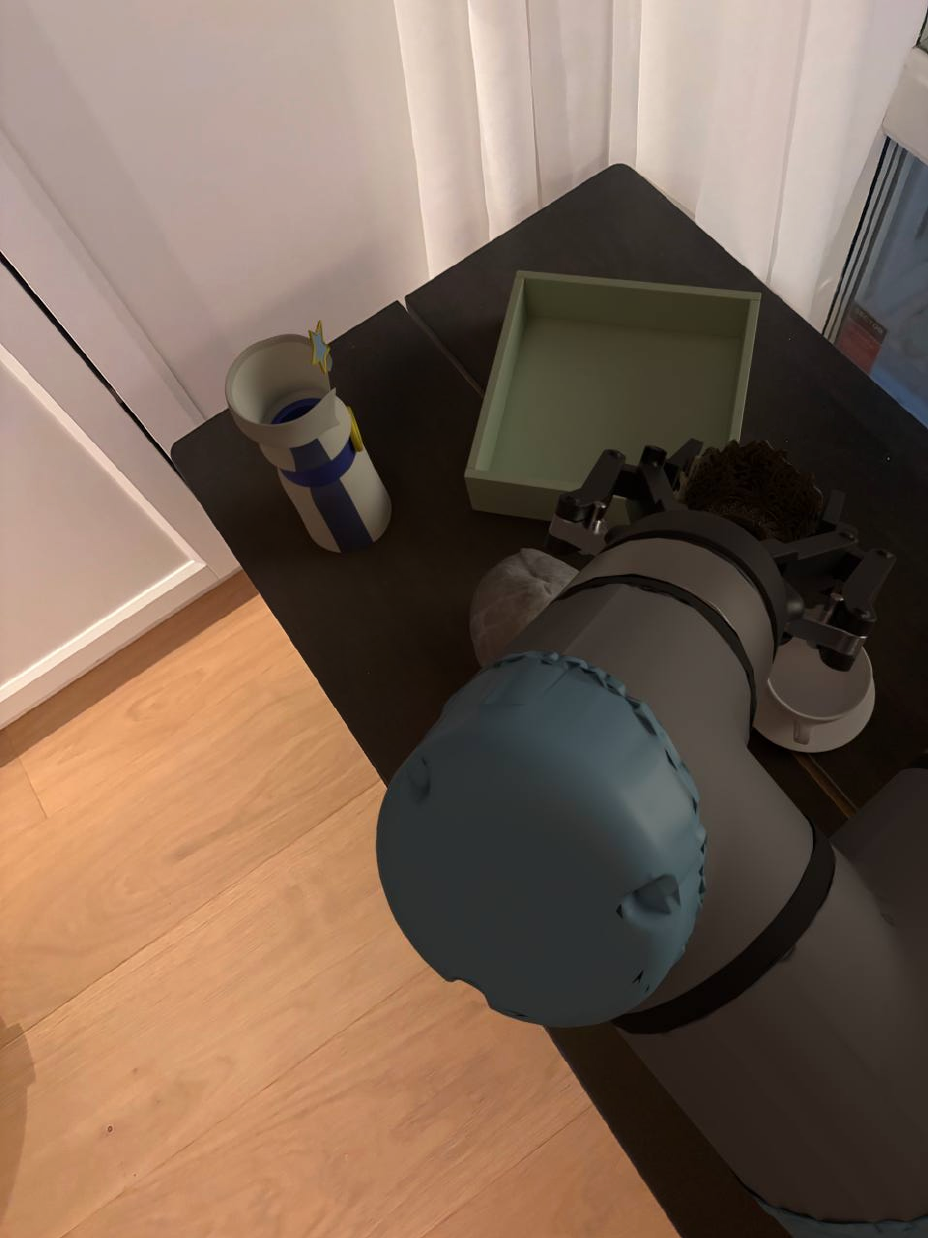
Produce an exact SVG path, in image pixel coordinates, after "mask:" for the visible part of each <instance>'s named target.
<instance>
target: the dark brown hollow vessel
mask: <svg viewBox="0 0 928 1238" xmlns="http://www.w3.org/2000/svg"><path fill="white" fill-rule="evenodd" d="M740 445H741V444H740V441H739V442H737V440H736V439H733V440H732V441H730V442H729V443H728V444H726V447H725V448H724V450H723V451H722V452H720V450H719V449H718V448H717V449H716V448H714V447H708V448H707V449H706V450H705V452H704V454H702V455H701V456H700V455H695V456H694V457H693V458H692V459H691V461H690V463H689V465H688V467H687V470H686V474H684V472H680V474H679V476H678V479H677V487H676V490H675V491H674V492H673V493H674V495H675V498H676V500H677V503H680V504H684V505H687V507H688V509H689V510H695V511H702V512H706V513H710V514H714V515H717V516H720V517H722V518H725V519H727V520H729V521H731V522H733V523H735V524H737V525H738V526H740V527H742V528H743V529H745V530H746V531H747V532H749V533H750V534H751V535H752V536H753V537H755V538H756V539H757V540H758V541H762V540H766V539H770V538H774V539H776V540H778V541H780V542H782V543H784V544H786V543H790V542H794V541H797V540H801V539H805V538H809V537H813V535H814V534H815V532H816V530H817V528H818V526H819V524H820V523H819V522H818V518H819V516H820V514H821V512H822V510H823V508H822V507H823V499H824V498H823V493H822V491H821V490H820V489H819V488H818V486H816V484H814V483H815V479H816V478H815V475H814V473H813V472H812V470H810V469H806V470H805V471H803V472H802V473H800V472H799V471H798V470H797V467H796V465H794V464H792V463H791V464H790V463H789V462H788V459H787V450H786V449H784V448H782V447H781V448H777V449H776V450H775V449H773V446H772V444H771V443H770V442H769V441H768V440H767V439H765V438H763V439H762V438H757V439H754V440H752V441H751V442H749V443H747V444H745V445H741V446H740Z"/></svg>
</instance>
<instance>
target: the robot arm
mask: <svg viewBox="0 0 928 1238" xmlns="http://www.w3.org/2000/svg"><path fill="white" fill-rule="evenodd" d="M703 443H704V442H701V441H698V440H696V439H693V438H691V439H690V440H689V441H688V442H686V443H685V444H684V445H683V446H682V447H681V448H680V449H679V450H678V451H677V452H676V453H674V454H673V455H672V456H671V457H670V458H669V459H667V458H666V455H667V451H665V450H664V449H662V448H659V447H656V446H652V445H645V447H644V450H643V453H642V456H641V458H640V461H639V464H638V465H630V464H626V463H625V460H626V456H625V455H624V454H622V453H621V452H620V451H618V450H614V449H606V450H604V451H603V452H602V454H601V456H600V457H599V459H598V461H597V462H596V464H595V465H594V467H593V469H592V470H591V472H590V474H589V475H588V477H587V478H586V480H585V482H584V483H583V485H582V486H581V488H580V489H576V490H573V491H570V492H567V493H564V494H561V495H560V496H559V499H558V502H557V506H556V509H555V512H554V516H553V519H552V521H550V525H549V528H548V532H547V534H546V538H545V541H544V544H543V549H545V550H546V551H547V552H548V553H550V554H552V555H553V556H557V557H568V556H571V555H573V554H576V553H577V552H578V553H579V554H580V555H582V556H589V555H592V556H594V557H593V558H592V559H591V560H590V562H588V563H587V565H585V566H584V567H583V568H582V569H581V570H579V573H578V574H577V575H576V576H575V577H574V578H573V579H572V580H571V581H570V582H569V584H568V585H567V586H566V587H565V588H564V589H563V590H562V591H561V592H560V593H559V594H558V595H557V596H556V597H555V598H554V599H553V600H552V602H551V603H550V604H549V605H548V606H547V607H546V608H545V609H544V610H543V611H542V612H541V613H540V614H539V615H538V616H537V617H536V618H535V619H534V620H533V621H532V622H531V623H530V624H528V625H527V626H526V627H525V628H524V629H523V630H522V631H521V632H520V633H519V634H518V635H517V636H516V637H515V638H514V639H513V640H512V641H511V642H510V643H509V644H507V645H506V646H505V647H504V648H503V649H502V650H501V651H500V652H499V653H498V654H497V655H496V656H495V657H494V658H493V659H492V660H491V661H490V662H489V663H487V664H486V665H485V666H484V667H483V668H481V669H480V670H479V671H478V672H477V673H476V674H475V675H473V677H472V678H470V679H469V680H468V681H467V682H466V683H465V684H464V685H462V687H460V689H458V690H457V691H456V692H455V693H454V694H452V696H451V697H449V698H448V699H447V701H446V702H445V704H444V705H443V708H442V711H441V713H440V717H439V719H438V720H437V721H435V722H434V724H433V725H432V727H431V728H430V729H429V730H428V732H427V733H426V735H425V736H424V737H423V738H422V739H421V741H420V742H419V743H418V744H417V745H416V747H415V748H414V749H413V751H412V752H411V753H410V754H409V755H408V757H406V758H405V760H404V761H403V763H402V764H401V765H400V766H399V768H398V769H397V770H396V771H395V772H394V774H393V775H392V778H391V780H390V782H389V784H388V786H387V788H386V791H385V792H384V795H383V798H382V801H381V804H380V807H379V811H378V815H377V821H376V828H375V857H376V866H377V871H378V872H377V873H378V877H379V881H380V885H381V888H382V890H383V893H384V897H385V899H386V902H387V905H388V908H389V910H390V912H391V914H392V916H393V918H394V921H395V922H396V924H397V925H398V928H399V929H400V931H401V932H402V933H403V935H404V938H406V939H407V941H408V942H409V944H410V945H411V947H412V948H413V949H414V950H415V952H416V953H417V954H418V955H419V957H420V958H421V959H422V960H423V961H424V962H425V963H426V964H427V965H428V966H429V967H430V968H431V969H432V970H433V971H435V973H436V974H437V975H439V976H440V977H441V978H442V979H443V980H445V981H446V982H448V983H454V982H456V981H462V982H463V983H465V984H467V985H469V986H470V987H473V988H474V989H475V990H477V991H478V992H480V993H481V994H482V995H483V997H484V998H485V1001H486V1002H487V1006H488V1007H489V1009H490V1010H492V1011H494V1012H496V1013H499V1015H502V1016H505V1017H508V1018H512V1019H514V1020H517V1021H520V1022H522V1023H528V1024H532V1025H537V1026H543V1027H550V1028H552V1027H553V1028H578V1027H587V1026H594V1025H599V1024H603V1023H606V1022H608V1021H609V1023H610V1024H611V1026H612V1027H614V1029H615V1030H616V1031H617V1032H618V1034H619V1035H620V1036H621V1037H622V1038H623V1040H624V1041H625V1042H626V1043H627V1045H628V1046H629V1047H630V1048H631V1049H632V1050H633V1052H634V1053H635V1054H636V1056H638V1058H639V1059H640V1060H641V1062H643V1064H644V1065H645V1066H646V1067H647V1068H648V1070H649V1071H650V1072H651V1074H653V1076H654V1077H655V1078H656V1080H657V1081H658V1082H659V1084H661V1086H662V1087H663V1088H664V1089H665V1090H666V1092H667V1093H668V1095H670V1097H671V1098H672V1099H673V1100H674V1101H675V1102H676V1103H677V1104H676V1105H678V1107H680V1109H681V1110H682V1112H684V1113H685V1115H686V1116H687V1117H688V1118H689V1120H690V1121H691V1122H692V1123H693V1125H694V1126H695V1127H696V1128H697V1130H699V1131H700V1133H701V1134H702V1135H703V1136H704V1137H705V1139H706V1140H707V1142H709V1144H710V1145H711V1146H712V1147H713V1148H714V1150H715V1151H716V1152H717V1153H718V1155H719V1156H720V1157H721V1158H722V1159H723V1161H724V1162H725V1163H726V1164H727V1166H728V1168H729V1170H730V1171H731V1173H732V1174H733V1176H734V1178H735V1179H736V1181H737V1182H738V1183H739V1184H740V1185H741V1186H742V1187H743V1188H744V1189H745V1190H746V1191H747V1192H748V1193H749V1194H750V1195H751V1196H752V1197H753V1199H754V1200H755V1201H756V1202H757V1204H758V1205H759V1207H760V1208H761V1209H762V1210H763V1211H764V1212H765V1213H766V1214H768V1215H770V1216H772V1217H773V1218H774V1219H775V1220H776V1221H777V1222H778V1223H779V1224H780V1225H781V1226H782V1228H783V1229H784V1230H785V1231H786V1232H787V1233H788V1234H789V1235H790V1236H791V1237H792V1238H928V747H926V749H925V750H924V751H923V752H922V753H921V754H920V755H918V756H917V757H915V758H913V759H912V760H911V761H910V762H909V763H908V764H906V765H905V766H904V767H903V768H902V769H901V770H899V771H898V772H897V773H896V775H894V776H893V777H892V778H891V779H890V780H889V781H888V782H887V783H886V784H885V785H884V786H883V787H882V788H881V789H879V791H877V792H876V793H875V794H874V795H873V796H872V797H871V798H870V799H869V800H868V801H867V802H865V804H864V805H863V806H862V807H861V808H859V809H858V811H857V812H855V813H854V814H853V815H852V816H851V817H850V818H849V819H848V820H846V822H845V823H844V824H842V826H840V827H839V829H837V831H835V832H834V833H833V834H832V835H831V836H830V837H829V838H828V837H827V836H826V835H825V834H824V833H823V832H822V830H821V829H820V828H819V827H818V825H816V823H815V822H814V821H813V820H812V819H811V818H810V817H809V816H808V815H807V814H806V813H804V812H802V811H801V810H800V809H799V808H798V807H797V806H796V804H795V803H794V802H793V801H792V800H791V798H790V797H789V796H788V795H787V794H786V793H785V792H784V790H783V789H782V788H781V787H780V786H779V785H778V783H777V782H776V781H775V780H774V779H773V777H772V776H771V775H770V774H769V773H768V772H767V771H766V769H765V768H764V767H763V766H762V764H760V762H759V761H758V760H757V759H756V758H755V756H754V755H753V754H752V752H751V751H750V750H749V749H748V744H749V740H750V737H751V733H752V731H753V729H754V723H755V719H756V716H757V713H758V710H759V707H760V703H761V700H762V697H763V694H764V691H765V688H766V684H767V681H768V678H769V675H770V672H771V668H772V665H773V663H774V660H775V657H776V654H777V651H778V648H779V646H782V645H785V644H787V643H788V642H789V641H790V640H791V639H792V638H793V637H796V638H800V639H803V640H806V641H807V642H806V643H807V645H808V646H809V647H811V648H813V649H818V651H819V655H820V659H821V660H822V662H823V663H824V664H825V665H827V666H828V667H829V668H831V669H834V670H837V671H841V672H848V671H850V669H851V667H852V665H853V663H854V661H855V659H856V658H857V655H858V654H859V652H860V650H861V648H862V646H864V644H865V643H866V641H867V639H868V637H869V635H870V633H871V632H872V629H873V628H874V625H875V623H876V622H877V620H878V617H877V615H876V612H875V609H874V607H873V605H874V604H875V601H876V600H877V598H878V595H879V594H880V592H881V590H882V588H883V586H884V584H885V583H886V580H887V578H888V577H889V575H890V572H891V571H892V569H893V567H894V565H895V563H896V562H897V557H896V555H895V554H894V553H892V552H891V551H889V550H888V549H885V548H878V547H872V548H870V549H869V551H868V552H866V551H864V550H862V549H861V548H859V547H858V546H857V545H859V541H860V540H859V538H858V534H859V530H858V528H856V527H855V526H853V525H850V524H848V523H845V522H842V521H840V517H841V514H842V510H843V506H844V502H845V498H846V493H845V492H842V491H840V490H837V489H835V488H831V491H830V493H829V495H828V497H827V499H826V501H825V503H824V506H822V507H823V508H822V509H821V512H820V514H819V517H818V522H819V523H820V524H819V526H818V528H817V530H816V532H815V534H814V535H813V537H809V538H805V539H801V540H797V541H794V542H790V543H786V544H784V543H782V542H780V541H778V540H776V539H774V538H770V539H766V540H762V541H758V540H757V539H756V538H755V537H753V536H752V535H751V534H750V533H749V532H747V531H746V530H745V529H743V528H742V527H740V526H738V525H737V524H735V523H733V522H731V521H729V520H727V519H725V518H722V517H720V516H717V515H714V514H710V513H706V512H702V511H695V510H689V509H688V507H687V505H684V504H680V503H677V500H676V498H675V495H674V493H673V492H674V491H675V490H676V487H677V479H678V476H679V474H680V472H684V474H686V470H687V467H688V465H689V463H690V461H691V459H692V458H693V457H694V456H695V455H699V454H700V451H701V449H702V446H703ZM613 495H616V496H620V497H623V498H626V501H625V506H626V510H627V513H628V517H629V521H630V525H617V526H614V527H613V528H611V529H610V530H608V529H607V528H606V527H607V524H608V522H607V520H605V519H604V518H603V517H604V515H605V513H606V511H607V509H608V507H609V505H610V503H611V501H612V498H613ZM839 582H842V583H843V584H842V586H841V589H840V590H839V593H837V592H835V590H836V588H837V586H838V584H839ZM816 593H818V594H820V595H822V596H827V599H826V601H825V603H824V604H823V603H822V604H821V603H819V604H818V603H817V604H816V605H815V606H814V607H813V608H806V604H805V602H804V599H803V598H805V597H808V596H811V595H813V594H816Z"/></svg>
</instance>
